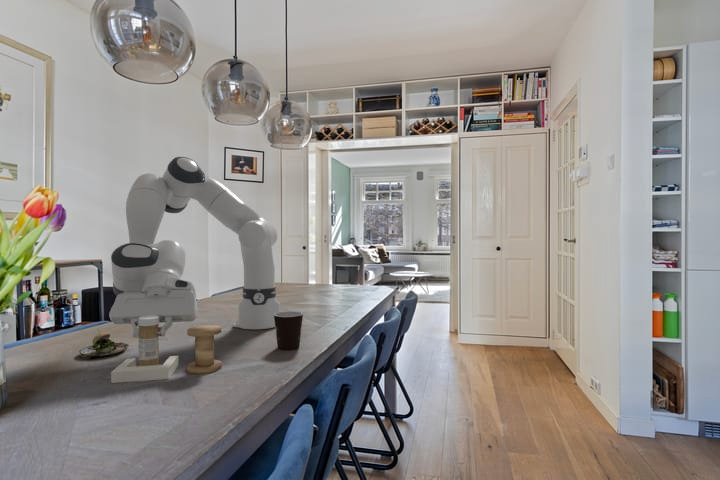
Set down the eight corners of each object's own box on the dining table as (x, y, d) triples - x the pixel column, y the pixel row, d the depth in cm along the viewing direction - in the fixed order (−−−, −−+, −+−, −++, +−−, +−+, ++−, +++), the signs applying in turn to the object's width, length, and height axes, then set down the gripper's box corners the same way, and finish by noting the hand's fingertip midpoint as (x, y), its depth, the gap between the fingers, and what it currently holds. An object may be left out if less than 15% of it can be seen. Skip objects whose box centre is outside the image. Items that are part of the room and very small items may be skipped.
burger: (85, 363, 104) (85, 335, 104) (73, 354, 112) (73, 328, 112) (135, 353, 113) (135, 327, 113) (120, 346, 121) (120, 321, 121)
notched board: (127, 368, 99) (127, 358, 99) (178, 365, 102) (178, 355, 102) (111, 383, 89) (111, 372, 89) (168, 378, 92) (168, 368, 92)
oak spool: (190, 364, 102) (190, 325, 102) (223, 362, 104) (223, 324, 104) (184, 375, 95) (184, 333, 94) (219, 372, 96) (219, 331, 96)
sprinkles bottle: (159, 366, 100) (159, 314, 100) (157, 372, 96) (158, 317, 96) (139, 368, 98) (139, 315, 98) (136, 375, 94) (136, 319, 94)
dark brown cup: (297, 352, 113) (297, 317, 113) (269, 350, 115) (268, 316, 115) (310, 341, 125) (310, 310, 124) (284, 340, 126) (284, 309, 126)
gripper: (114, 284, 102) (97, 330, 93) (198, 282, 106) (189, 327, 96) (122, 298, 107) (106, 344, 97) (202, 296, 110) (194, 340, 101)
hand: (148, 335), depth 97 cm, fingers closed on sprinkles bottle, 4 cm apart
